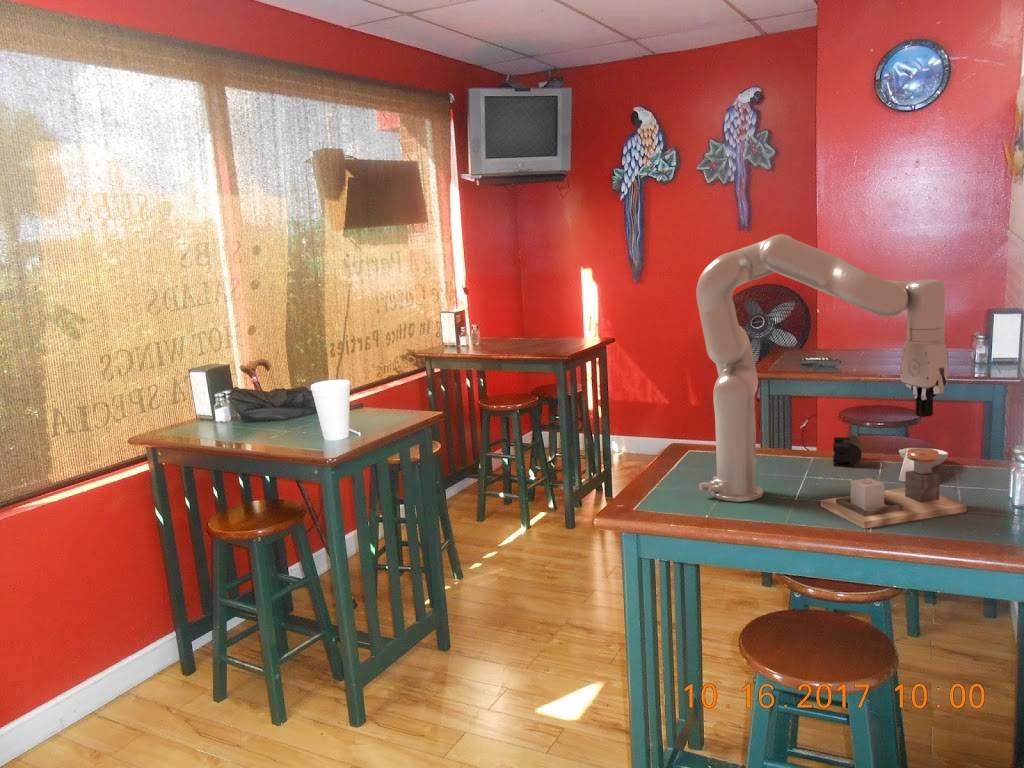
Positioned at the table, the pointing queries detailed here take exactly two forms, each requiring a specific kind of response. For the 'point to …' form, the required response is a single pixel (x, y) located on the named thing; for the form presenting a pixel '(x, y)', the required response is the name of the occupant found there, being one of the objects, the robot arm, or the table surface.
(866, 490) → the block
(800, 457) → the table surface
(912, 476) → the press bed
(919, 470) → the disc
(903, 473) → the spoon rest
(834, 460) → the end cap
